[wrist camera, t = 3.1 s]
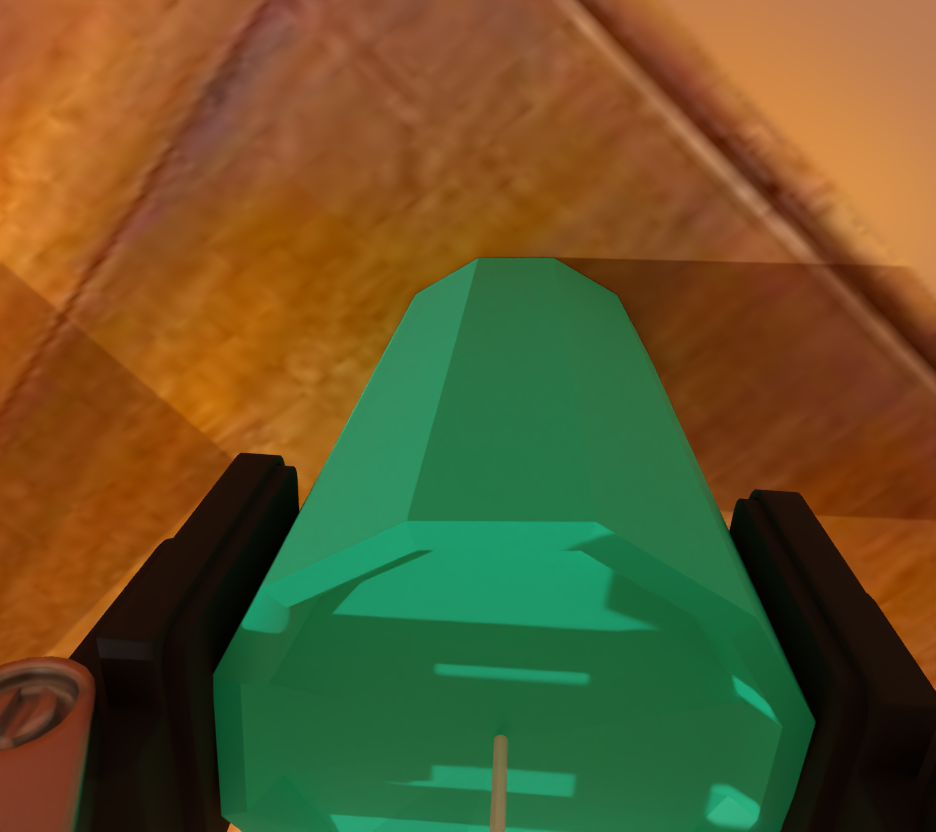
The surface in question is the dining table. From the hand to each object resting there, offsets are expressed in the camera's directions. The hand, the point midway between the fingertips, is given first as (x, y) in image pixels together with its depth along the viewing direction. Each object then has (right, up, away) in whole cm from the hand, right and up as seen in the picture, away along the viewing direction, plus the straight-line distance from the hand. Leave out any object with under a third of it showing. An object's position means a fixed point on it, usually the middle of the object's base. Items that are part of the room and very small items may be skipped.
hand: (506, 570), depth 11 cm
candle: (+1, +3, +7) cm, 7 cm away
